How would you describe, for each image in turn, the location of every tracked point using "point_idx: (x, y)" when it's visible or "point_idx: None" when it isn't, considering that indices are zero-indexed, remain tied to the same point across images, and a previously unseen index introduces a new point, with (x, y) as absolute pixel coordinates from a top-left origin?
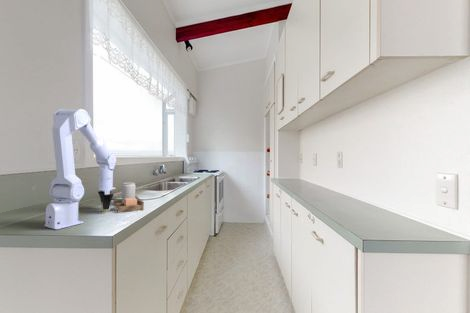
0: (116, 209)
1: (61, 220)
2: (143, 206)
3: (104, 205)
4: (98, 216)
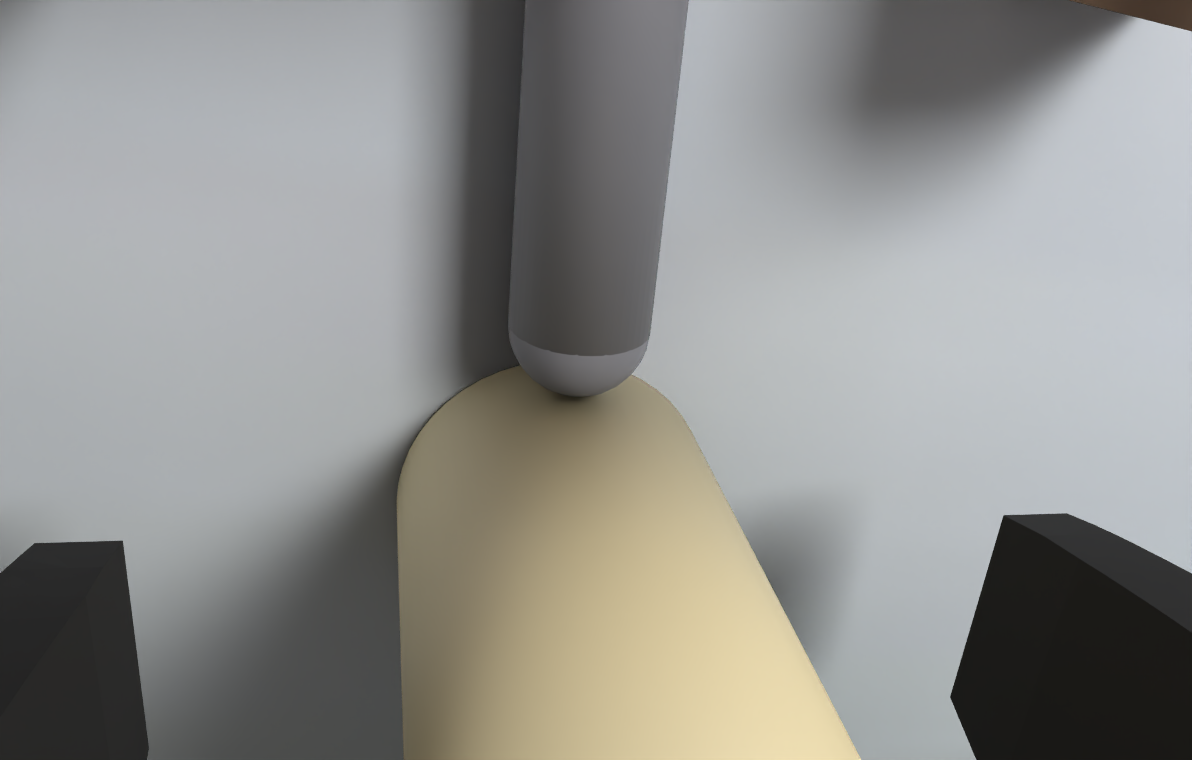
0: (686, 10)
1: None
2: None
3: None
4: None
